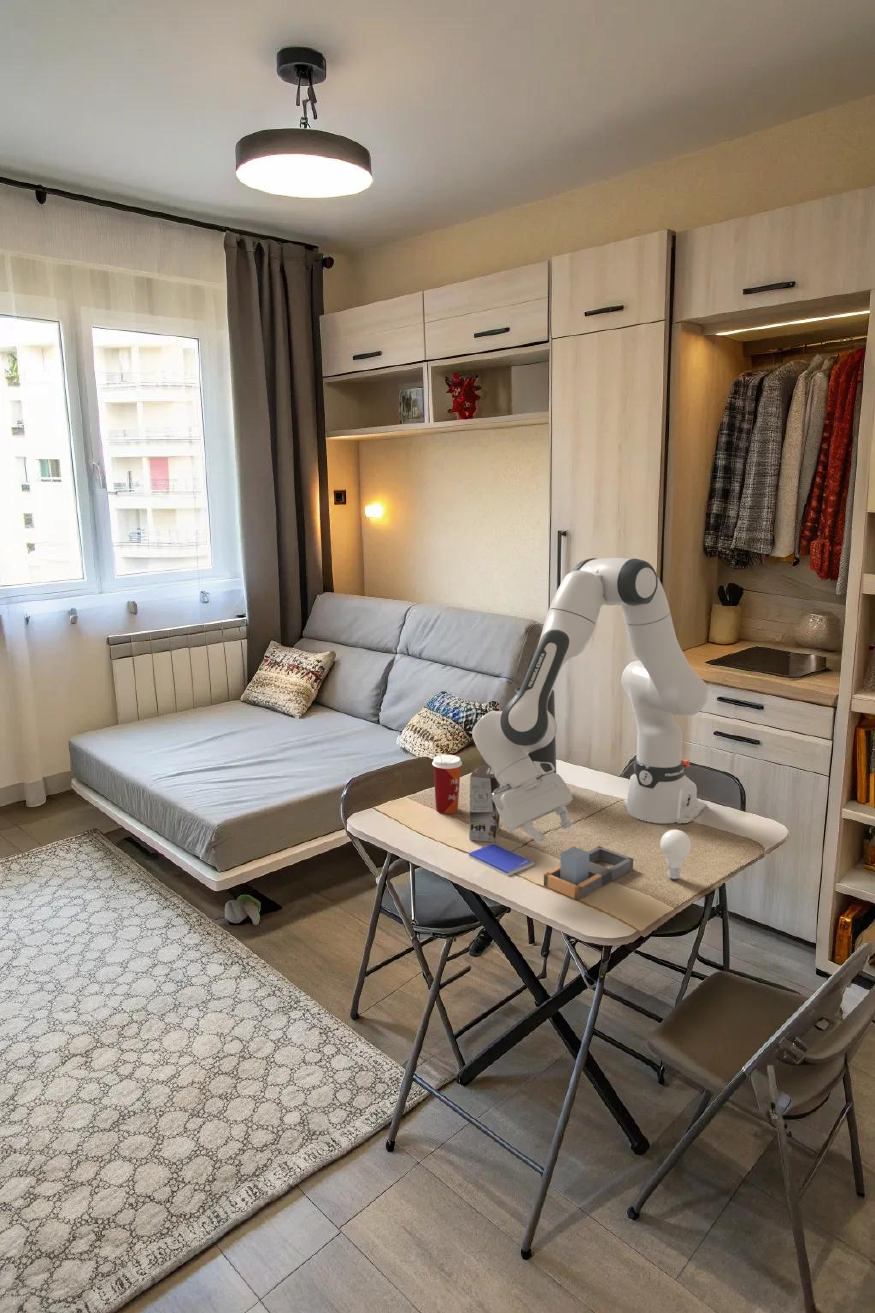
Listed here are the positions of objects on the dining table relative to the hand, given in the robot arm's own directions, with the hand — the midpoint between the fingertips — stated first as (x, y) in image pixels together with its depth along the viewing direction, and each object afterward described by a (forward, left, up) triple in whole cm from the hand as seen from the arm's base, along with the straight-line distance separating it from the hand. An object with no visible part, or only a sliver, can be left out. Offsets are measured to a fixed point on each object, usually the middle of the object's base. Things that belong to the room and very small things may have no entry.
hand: (554, 834), depth 178 cm
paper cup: (-10, -42, -10) cm, 45 cm away
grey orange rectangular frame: (-5, +6, -10) cm, 12 cm away
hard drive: (+3, -13, -11) cm, 17 cm away
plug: (0, +6, -10) cm, 11 cm away
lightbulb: (-18, +19, -10) cm, 28 cm away
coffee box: (-6, -25, -10) cm, 28 cm away
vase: (-36, -35, -10) cm, 51 cm away
